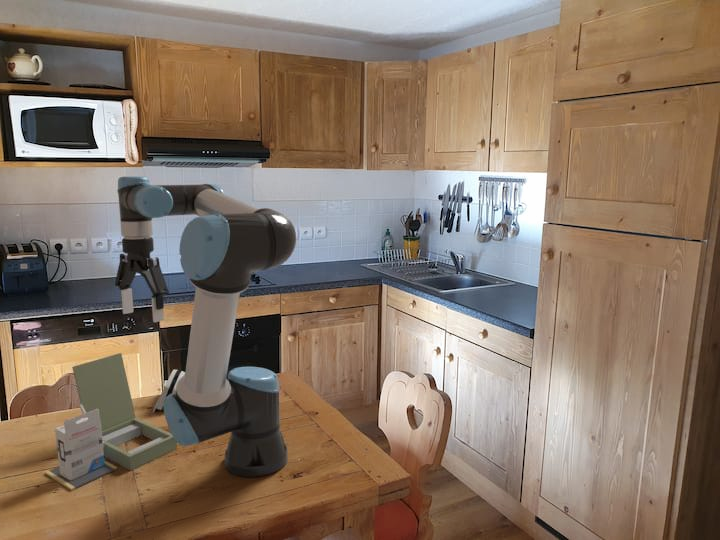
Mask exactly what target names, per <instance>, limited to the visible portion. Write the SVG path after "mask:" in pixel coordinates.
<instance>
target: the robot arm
mask: <svg viewBox="0 0 720 540" xmlns="http://www.w3.org/2000/svg"><path fill="white" fill-rule="evenodd" d="M117 194H118V205H119V218H120V219H119V220H120V234H121V235H120V236H121V237H123V238H122V239H121V244H122V245H121V246H122V249H121V250H122V252H123V253H120V254H119V263H118V268H117V273H116V276H115V281H114V286H116V287H118V289H119V290H120V295H121V305H122V307H121V308H122V315H125V314H132V313H134V299H133V288H132V283H133V282H134V281H133V280H134V279H135V277H136V275H137V274H138V275H139V274H140V276H141V277H142V278H144V280H145V282H146V285H147V286H148V288H149V289H150V292H151V295H152V296H151V310H152V322H153V323H158V322H163V321H165V313H164V305H165V303H164V296H166V295H169V294H170V292H169V287H168V286H167V283H166V280H165V277H164V274H163V271H162V269H161V266H160V265H161V264H160V259H159V257H158V256H157V257H156V256H155V257H151V253H153V252H154V249H155V248H154V246H155V245H154V238H153V237H152V235H153V221H152V220H153V219H158V218H163V217H172V216H174V217H175V216H187V215H188V216H190V215H191V216H192V215H196V216H197V217H195V218H193V219H192V220H190V221H189V222H188V223H187V224H186V226H185V227H184V229H183V231H182V234H181V237H180V241H179V242H180V243H179V255H180V259H179V261H180V265H181V269H182V271H183V273H184V274H185V275H186V277H188V279H189V282H190V283H191V284H192V285H193V287H194V288H195V292H194V299H193V306H192V307H193V309H192V315H191V316H192V317H191V322H190V323H191V324H190V325H191V326H190V333H189V340H188V341H189V342H188V348H187V349H188V350H187V357H186V365H185V371H184V372H185V375H184V376H183V377H182V378H181V379H180V380H179V381H178V383H177V386H176V394H173V395H172V394H170V395H169V396H167V397H165V399H164V402H163V407H164V409H163V412H164V417H165V421H166V424H167V427H168V430H169V431H170V432H169V433H171V434H172V436H173V438H174V439H175V441H176V442H177V445H180V446H182V447H188V446H192V445H199V444H201V443H203V442H205V441H209V440H211V439H215V438H217V437H220V436H223V435H225V434H228V433H230V436H229V439H228V443H227V448H226V450H225V452H224V466H225V468H226V470H227V471H228V472H230V473H231V474H233V475H235V476H238V477H242V478H243V477H245V478H258V477H264V476H265V477H266V476H268V475H271V474H274V473H276V472H278V471H279V470H281V469H282V468H283V467H284V466H286V465H287V462H288V458H289V457H288V447H287V445H286V443H285V438H284V437H283V434H282V431H281V427H280V422H281V421H280V385H279V384H280V383H279V378H278V376H277V374H276V373H275V372H274V371H272V370H270V369H268V368H264V367H260V366H259V367H257V366H241V367H240V366H239V367H235V368H232V369H231V370H229V372H228V369H229V368H228V367H229V363H230V357H231V350H232V344H233V337H234V333H235V324H236V319H237V314H238V313H237V312H238V307H239V301H240V295H241V293H244V291H246V290H247V289H248V288H249V286H250V282H251V278H252V273H256V272H262V271H267V270H273V269H275V268H278V267H280V266H282V265H283V264H284V263H285V262H287V261H288V259H289V258H290V257H291V256H292V254H293V252H294V251H295V248H296V243H297V233H296V230H295V227H294V224H293V222H292V221H291V220H290V219H289V217H287V216H286V215H284V214H283V213H281V212H279V211H276V210H274V209H271V208H268V207H262V208H257V207H255V206H254V205H253V206H252V205H250V204H248V203H245V202H243V201H242V200H238V199H236V198H233V197H232V196H229V195H227V194H225V193H224V190H223V189H222V187H221V186H220V185H217V184H209V183H203V184H202V183H201V184H164V185H163V184H160V185H159V184H158V185H157V184H156V185H153V184H152V185H151V184H150V178H149V177H148V176H120V177H118V180H117Z"/></svg>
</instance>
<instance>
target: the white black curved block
mask: <svg viewBox="0 0 720 540" xmlns="http://www.w3.org/2000/svg"><path fill="white" fill-rule="evenodd" d="M185 372H186V371H183V370H182V371H180V370H178V369H173V370H172V371H171V373H170V376H169V377H168V380H167V381H166V384H165V385H164V388H163V389H162V392H161V394H160V395H159V397H158V399H157V401H156V402H155V405H154V407H153V410H152V413H155V411H156V410H160V411H162V410H164V407H163V402H164V399H165V397H167V396H169V395H170V394H172V395H173V394H176V386H177V383H178V381H179V380H180V379H181V378H182V377H183V376H184V375H185Z"/></svg>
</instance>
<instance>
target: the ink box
mask: <svg viewBox="0 0 720 540" xmlns="http://www.w3.org/2000/svg"><path fill="white" fill-rule="evenodd" d="M54 430H55V431H54V432H55V441H56V450H57V458H58V459H57V460H58V466H59V468H60V475H62V476H63V477H65V478H67V479H68V480H74V479H76V478H78V477H80V476H83V475H85V474H87V473H89V472H91V471H94V470H96V469H98V468H100V467H102V466H104V465H105V462H104V460H105V456H104V452H103V442H102V431H101V421H100V417H99V410H98V409H95V410H93V411H90V412H87V413H84V414H83V413H82V414H79V415H76V416H74V417H71V418H68V419H65V420H64V421H63V425H61V426H57V427H54Z"/></svg>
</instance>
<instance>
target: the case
mask: <svg viewBox="0 0 720 540" xmlns="http://www.w3.org/2000/svg"><path fill="white" fill-rule="evenodd" d="M71 368H72V372H73V377H74V380H75V385H76V389H77V394H78V399H79V402H80V403H79V404H78V407H79V409H80V411H81V413H82V414H84V413H87V412H90V411H93V410H95V409H98V410H99V417H100V421H101V431H102V442H103V452H104V458H106V459H108V460H110V461H113V462H114V463H116V464H117V465H120V466H122V467H123V468H125V469H127V470H128V471H133V470H135V469H137V468H139V467H141V466H143V465H145V464H148V463H149V462H152V461H153V460H156V459H159V458H160V457H162V456H163V455H165V454H168V453H170V452H173V451H175V450H177V449H178V443H177V442H176V441H175V439H174V438H173V436H172V434H171V432H169V431H166V430H164V429H163V428H160V427H157V426H155V425H153V424H151V423H149V422H146V421H144V420H142V419H141V418H138V417H136V416H137V415H136V413H135V408H134V404H133V400H132V395H131V392H130V391H131V390H130V386H129V381H128V378H127V377H128V376H127V374H126V373H127V372H126V368H125V364H124V361H123V355H122V353H121V352H120V353H119V352H118V353H115V354H112V355H108V356H105V357H102V358H99V359H94V360H92V361H87V362H85V363H81V364H78V365H77V364H76V365H74V366H72V367H71ZM141 434H142V435H141ZM140 435H141V436H143V435H144V436H143V437H145V436H146V438H147V437H148V438H147V439H149V438H150V441H149V442H147V443H144V444H142V445H139V446H137V447H135V448H133V449H131V450H128V451H126V450H124V449H122V448H120V447H118V446H120V445H122V444H124V443H127V442H129V441H131V440H134V439H136V438H138V437H141V436H140ZM135 437H136V438H135Z"/></svg>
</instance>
